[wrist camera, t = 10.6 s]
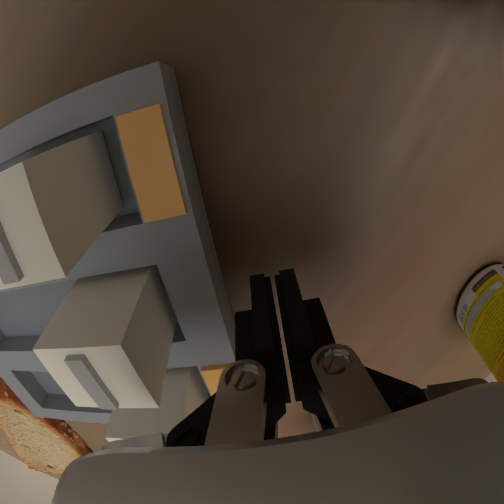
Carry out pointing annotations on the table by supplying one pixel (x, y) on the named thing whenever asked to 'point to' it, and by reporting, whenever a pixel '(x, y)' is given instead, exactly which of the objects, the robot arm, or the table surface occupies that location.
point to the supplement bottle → (485, 317)
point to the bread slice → (38, 435)
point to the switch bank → (124, 231)
